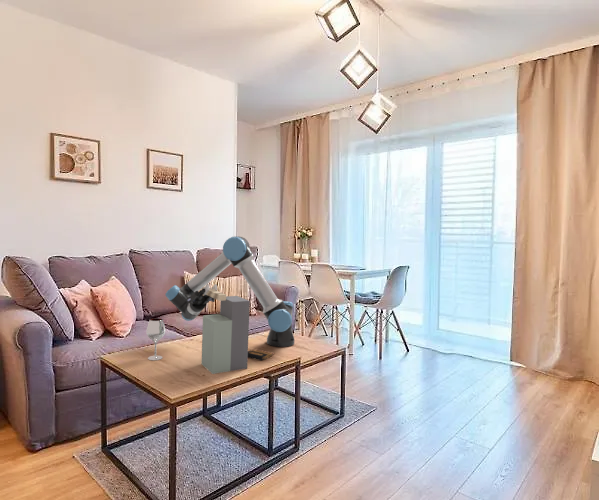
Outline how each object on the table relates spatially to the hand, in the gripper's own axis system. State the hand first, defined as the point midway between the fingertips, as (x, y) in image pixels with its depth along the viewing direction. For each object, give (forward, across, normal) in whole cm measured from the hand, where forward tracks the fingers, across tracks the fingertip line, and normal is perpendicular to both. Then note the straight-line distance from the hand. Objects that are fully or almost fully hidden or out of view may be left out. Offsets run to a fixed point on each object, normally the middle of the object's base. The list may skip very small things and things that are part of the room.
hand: (212, 287), depth 181 cm
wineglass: (-32, +20, -22) cm, 44 cm away
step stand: (-11, -4, -33) cm, 36 cm away
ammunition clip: (-14, -20, -30) cm, 39 cm away
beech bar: (0, 0, -4) cm, 4 cm away
